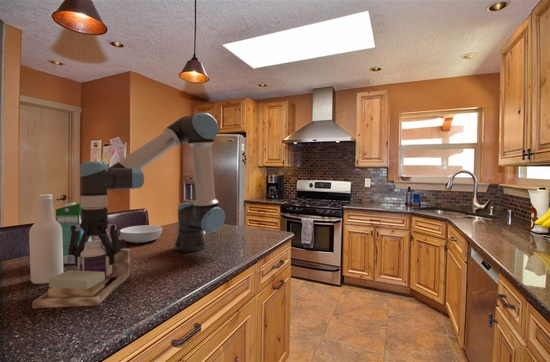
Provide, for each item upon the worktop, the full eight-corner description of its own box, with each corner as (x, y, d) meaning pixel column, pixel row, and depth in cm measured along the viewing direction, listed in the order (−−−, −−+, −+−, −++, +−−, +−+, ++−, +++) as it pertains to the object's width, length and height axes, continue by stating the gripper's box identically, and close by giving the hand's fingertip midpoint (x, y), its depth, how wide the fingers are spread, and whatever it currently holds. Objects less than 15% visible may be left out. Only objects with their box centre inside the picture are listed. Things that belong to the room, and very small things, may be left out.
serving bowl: (151, 246, 137) (151, 233, 137) (111, 246, 137) (111, 232, 137) (168, 236, 158) (168, 225, 158) (133, 236, 158) (133, 224, 158)
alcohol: (46, 274, 99) (43, 193, 98) (69, 274, 99) (67, 193, 98) (23, 284, 90) (20, 195, 89) (49, 285, 90) (46, 195, 89)
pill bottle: (114, 281, 94) (114, 240, 93) (92, 290, 86) (92, 246, 86) (98, 277, 96) (97, 238, 96) (74, 286, 89) (74, 243, 88)
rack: (129, 275, 99) (129, 248, 98) (97, 305, 77) (97, 270, 77) (80, 277, 97) (79, 249, 96) (32, 308, 75) (31, 272, 75)
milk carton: (71, 257, 119) (70, 201, 118) (92, 256, 120) (92, 201, 119) (56, 264, 110) (55, 203, 109) (79, 263, 111) (78, 203, 110)
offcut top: (104, 279, 84) (104, 271, 84) (86, 289, 78) (86, 280, 77) (69, 277, 86) (69, 270, 86) (49, 287, 79) (48, 278, 79)
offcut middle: (104, 285, 86) (104, 278, 86) (92, 296, 79) (92, 287, 79) (64, 287, 84) (64, 279, 84) (48, 297, 78) (47, 289, 77)
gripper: (131, 206, 95) (132, 269, 96) (68, 206, 93) (69, 271, 94) (122, 209, 88) (123, 277, 89) (52, 209, 85) (54, 280, 86)
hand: (95, 274), depth 91 cm, fingers closed on pill bottle, 8 cm apart
